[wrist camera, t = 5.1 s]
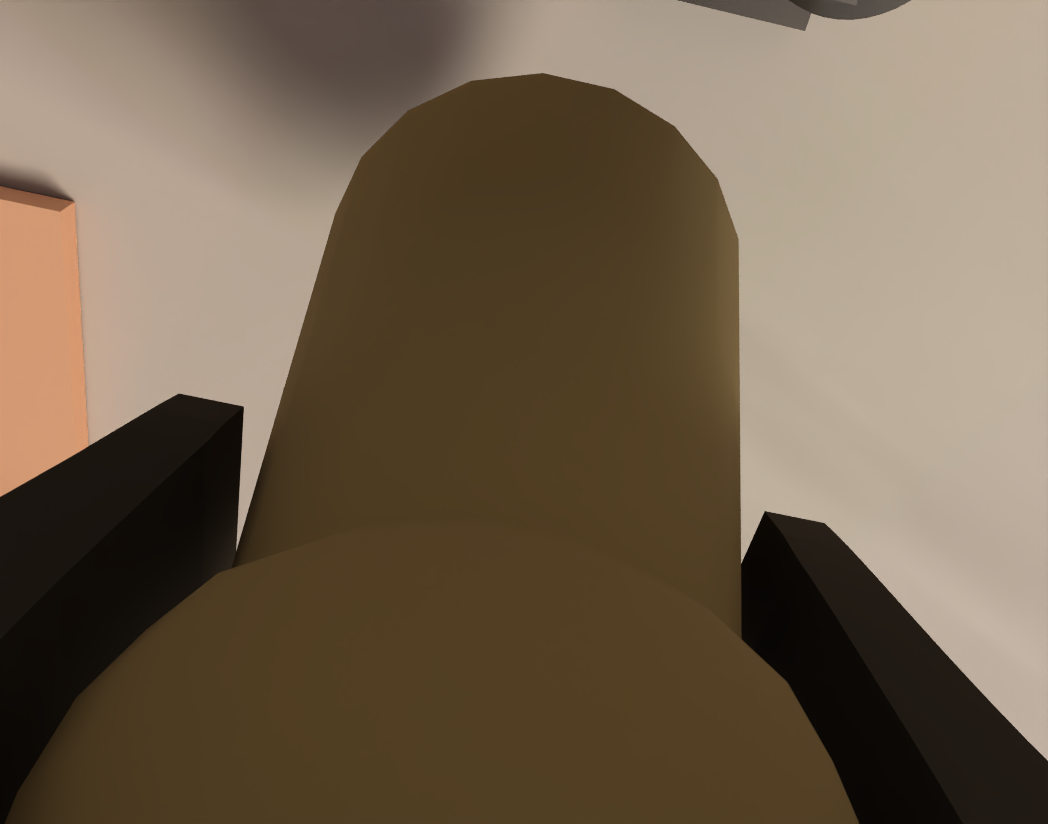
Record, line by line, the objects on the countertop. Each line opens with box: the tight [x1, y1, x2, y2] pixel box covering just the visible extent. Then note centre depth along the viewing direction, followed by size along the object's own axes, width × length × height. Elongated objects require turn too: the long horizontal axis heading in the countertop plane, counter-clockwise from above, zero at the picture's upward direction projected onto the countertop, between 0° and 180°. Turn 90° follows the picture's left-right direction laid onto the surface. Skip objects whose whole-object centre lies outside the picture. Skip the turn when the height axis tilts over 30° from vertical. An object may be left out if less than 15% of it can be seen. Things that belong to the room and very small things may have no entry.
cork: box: [5, 73, 859, 824], centre depth 9 cm, size 6×6×11 cm
